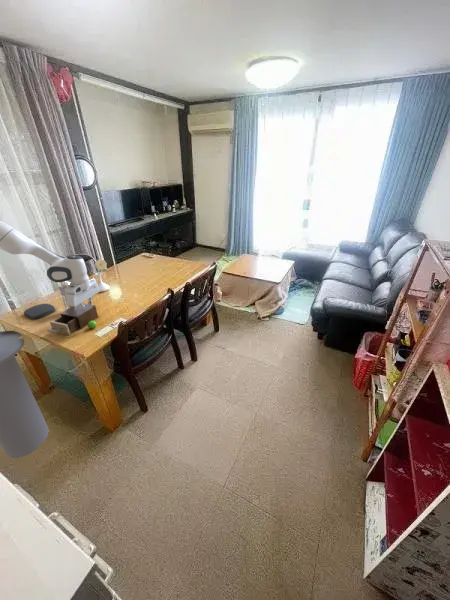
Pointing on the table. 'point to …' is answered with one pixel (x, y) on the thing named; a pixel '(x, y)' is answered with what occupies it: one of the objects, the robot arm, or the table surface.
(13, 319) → the table surface
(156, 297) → the table surface
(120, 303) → the table surface
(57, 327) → the drawer
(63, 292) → the water bottle
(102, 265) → the flower in vase
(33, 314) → the media streaming box
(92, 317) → the cabinet
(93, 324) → the lime
